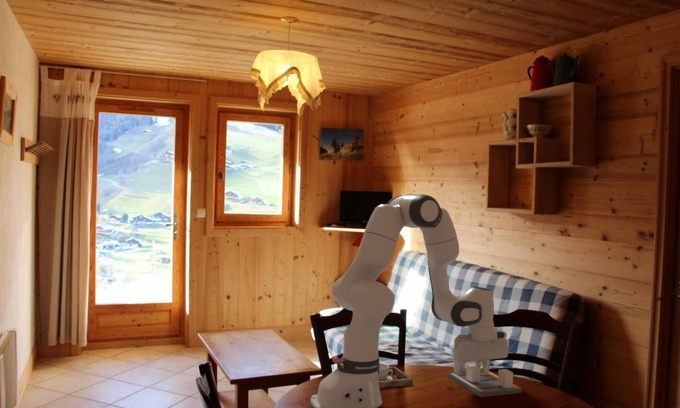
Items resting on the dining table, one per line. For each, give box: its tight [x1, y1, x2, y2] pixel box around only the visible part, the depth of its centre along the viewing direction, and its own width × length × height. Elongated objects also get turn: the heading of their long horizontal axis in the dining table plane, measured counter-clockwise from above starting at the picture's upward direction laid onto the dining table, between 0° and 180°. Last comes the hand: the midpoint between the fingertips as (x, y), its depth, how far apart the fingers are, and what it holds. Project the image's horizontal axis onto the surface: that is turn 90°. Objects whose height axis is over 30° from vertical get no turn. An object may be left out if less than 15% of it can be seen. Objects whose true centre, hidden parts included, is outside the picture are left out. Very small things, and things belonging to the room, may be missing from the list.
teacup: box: [378, 362, 394, 381], centre depth 196 cm, size 10×10×5 cm
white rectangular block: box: [465, 363, 480, 382], centre depth 191 cm, size 3×4×5 cm
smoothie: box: [451, 344, 467, 373], centre depth 206 cm, size 6×6×14 cm
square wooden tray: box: [379, 366, 414, 389], centre depth 195 cm, size 15×15×2 cm
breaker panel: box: [447, 360, 523, 398], centre depth 192 cm, size 16×21×7 cm
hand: (480, 372), depth 192 cm, fingers closed
